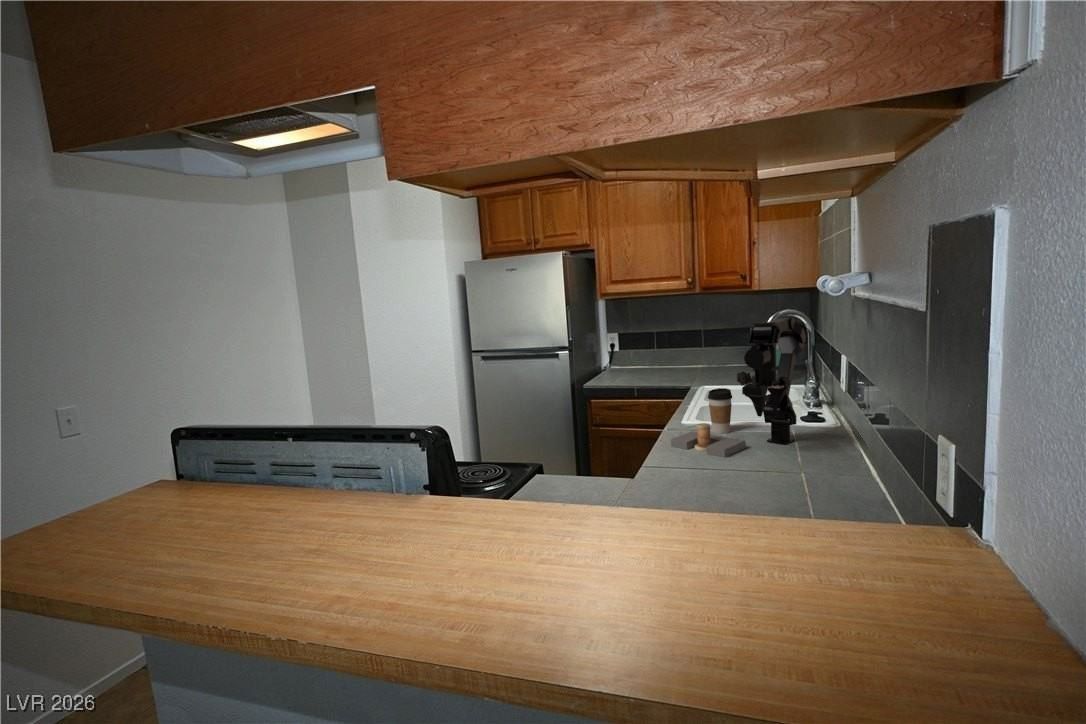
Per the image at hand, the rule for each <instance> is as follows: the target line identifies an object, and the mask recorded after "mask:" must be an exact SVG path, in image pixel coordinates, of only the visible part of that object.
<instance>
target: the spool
mask: <svg viewBox="0 0 1086 724" xmlns="http://www.w3.org/2000/svg"><path fill="white" fill-rule="evenodd" d="M696 429H697V431H696V432H697V436H698V444H696V445H695V447H694V450H695V451H698V452H703V453H704V452H706V453H707V446H708V445H711V440H710V434H711V424H710V423H706V422H702V423H697V424H696Z"/></svg>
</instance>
